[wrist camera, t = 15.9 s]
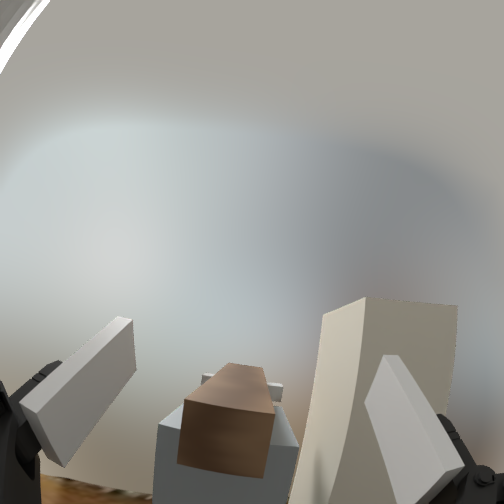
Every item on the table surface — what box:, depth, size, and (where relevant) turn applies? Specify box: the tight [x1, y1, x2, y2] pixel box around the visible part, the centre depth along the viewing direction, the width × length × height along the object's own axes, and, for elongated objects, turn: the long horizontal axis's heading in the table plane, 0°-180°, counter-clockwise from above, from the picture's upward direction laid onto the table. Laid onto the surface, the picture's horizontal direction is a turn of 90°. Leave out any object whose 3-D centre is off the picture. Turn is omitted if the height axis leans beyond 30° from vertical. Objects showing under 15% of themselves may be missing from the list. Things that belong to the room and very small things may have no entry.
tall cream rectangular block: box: [288, 297, 457, 504], centre depth 24 cm, size 10×15×30 cm, turn 0°
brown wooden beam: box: [177, 363, 283, 479], centre depth 21 cm, size 9×22×4 cm, turn 179°
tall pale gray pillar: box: [152, 403, 299, 504], centre depth 18 cm, size 9×12×19 cm
